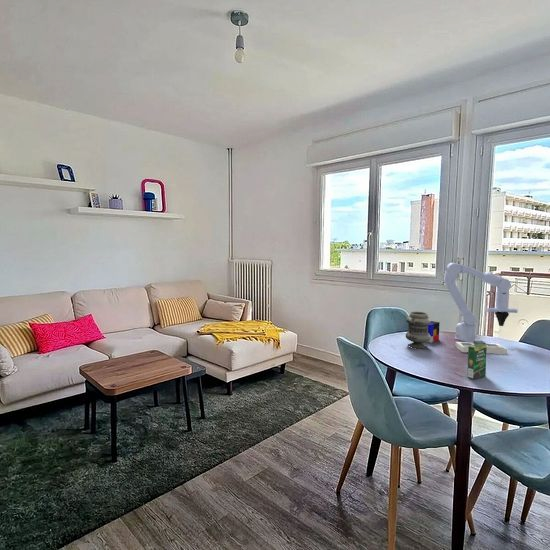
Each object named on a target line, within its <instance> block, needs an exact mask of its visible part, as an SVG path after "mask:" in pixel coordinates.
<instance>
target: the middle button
mask: <svg viewBox="0 0 550 550" xmlns="http://www.w3.org/2000/svg"><path fill="white" fill-rule="evenodd" d="M473 343H474V345H476V344H480V343H482V344H485V345H486V343H487V342H485V341H484V340H479V341H474V342H473Z"/></svg>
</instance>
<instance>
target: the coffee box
mask: <svg viewBox="0 0 550 550" xmlns="http://www.w3.org/2000/svg"><path fill="white" fill-rule="evenodd" d="M486 351H487V345H485V344H482V343H480V344H476V345H472V346H469V347H468V353H467V354H468V355H467V374H466V375H467V378H468V379H471V380H477V379H479V378H484V377H487V375H486V374H487V371H486V370H487V353H486Z"/></svg>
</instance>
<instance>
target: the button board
mask: <svg viewBox="0 0 550 550" xmlns="http://www.w3.org/2000/svg"><path fill="white" fill-rule="evenodd" d="M461 343H470V344H471V345H462V344H461ZM485 343H486V344H496V345H497V346H488V345H487V351H486V354H490V353H494V355H497V354H498V355H508V348H507V347H504V346H503V345H502V344H499V343H491V342H490V343H489V342H485ZM472 345H474V342H465V341H455V347H456V348H457V349H458V351H460V352H462V353H467V352H468V347H469V346H472ZM498 346H499V347H498Z"/></svg>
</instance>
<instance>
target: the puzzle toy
mask: <svg viewBox="0 0 550 550" xmlns="http://www.w3.org/2000/svg"><path fill="white" fill-rule="evenodd" d="M440 323H441V322H440V321H433V320H431V323H430V324H429V325H428V333H429V334H430V336H431V338H430V340H429V341H428V342H431V343H434V342H436V341H435V340H437V341H439V340H440V325H441V324H440ZM438 339H439V340H438ZM433 341H434V342H433ZM428 342H427V343H428Z"/></svg>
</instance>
